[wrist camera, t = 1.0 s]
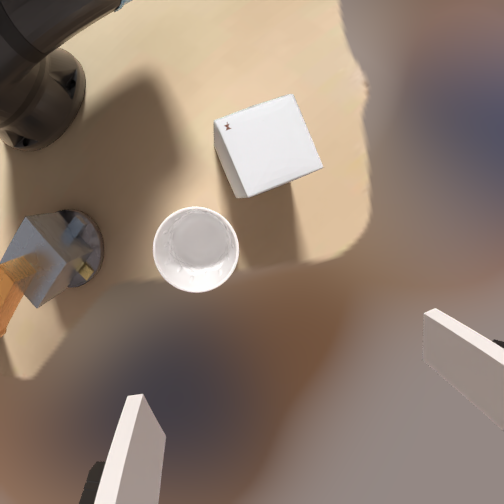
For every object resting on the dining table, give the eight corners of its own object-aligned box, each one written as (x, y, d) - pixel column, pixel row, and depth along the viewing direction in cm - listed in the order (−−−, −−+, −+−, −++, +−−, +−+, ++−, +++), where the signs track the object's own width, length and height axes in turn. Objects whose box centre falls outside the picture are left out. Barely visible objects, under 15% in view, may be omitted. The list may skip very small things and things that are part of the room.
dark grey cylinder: (31, 249, 35) (-6, 262, 26) (68, 193, 34) (32, 194, 26) (77, 299, 37) (47, 323, 28) (118, 245, 36) (92, 259, 28)
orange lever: (9, 293, 32) (-47, 325, 20) (66, 201, 32) (4, 204, 19) (40, 328, 34) (-9, 371, 21) (102, 239, 33) (50, 260, 21)
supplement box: (235, 200, 37) (244, 200, 25) (212, 144, 36) (210, 117, 23) (291, 178, 37) (326, 169, 25) (268, 123, 36) (292, 90, 24)
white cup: (224, 197, 37) (227, 196, 27) (240, 259, 38) (248, 280, 29) (161, 214, 36) (142, 220, 27) (179, 275, 38) (167, 301, 28)
